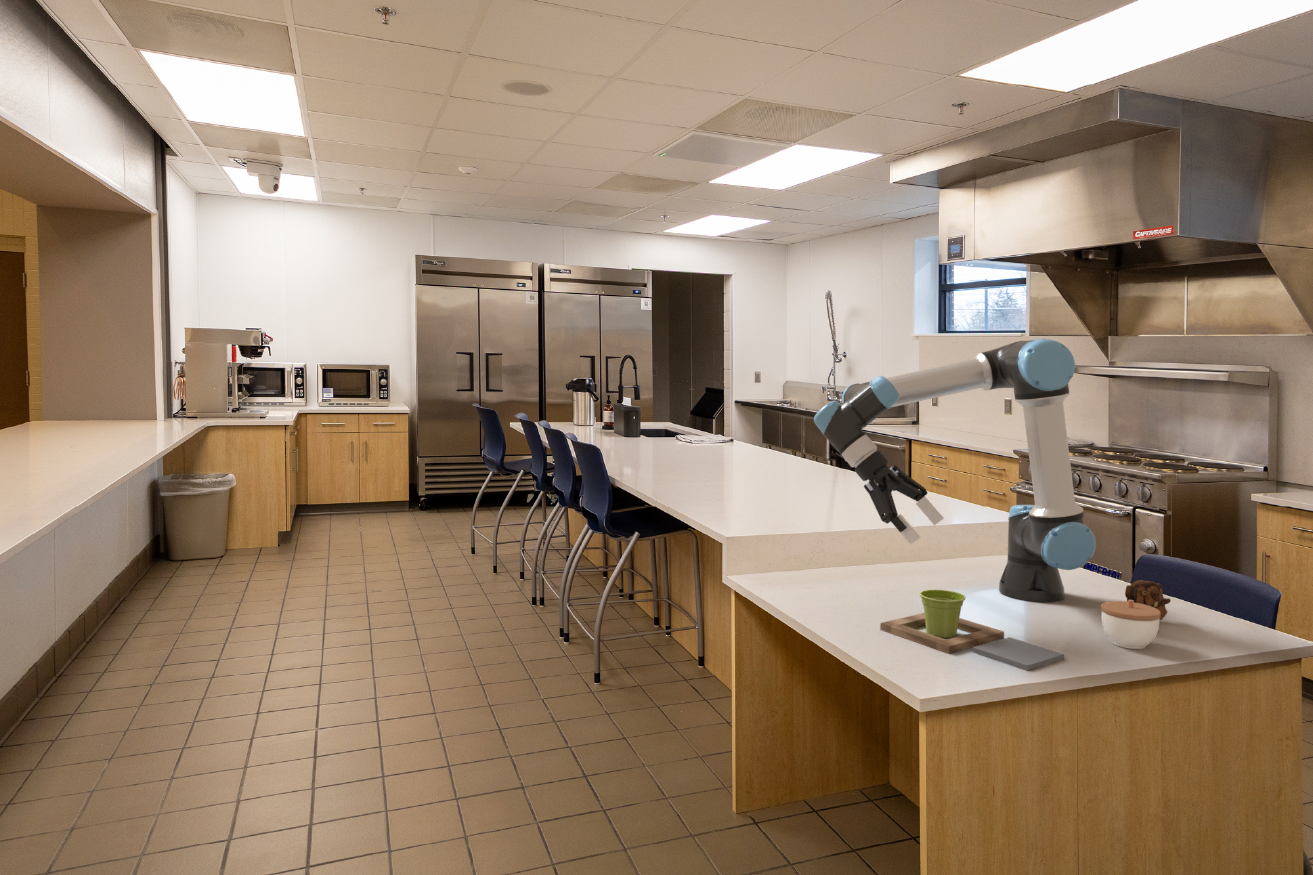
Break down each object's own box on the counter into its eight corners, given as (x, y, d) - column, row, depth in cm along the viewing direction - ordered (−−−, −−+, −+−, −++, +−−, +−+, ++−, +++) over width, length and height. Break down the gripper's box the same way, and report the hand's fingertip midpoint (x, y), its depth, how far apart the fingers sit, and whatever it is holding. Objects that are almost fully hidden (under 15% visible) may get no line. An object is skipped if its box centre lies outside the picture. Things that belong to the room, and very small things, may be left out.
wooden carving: (1135, 634, 176) (1137, 589, 175) (1114, 628, 180) (1116, 584, 179) (1174, 622, 185) (1176, 579, 184) (1152, 617, 189) (1155, 574, 188)
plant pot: (911, 627, 180) (912, 589, 180) (952, 626, 181) (953, 588, 180) (929, 641, 171) (930, 601, 170) (972, 640, 172) (973, 600, 171)
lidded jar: (1170, 653, 164) (1172, 607, 164) (1117, 652, 165) (1119, 607, 164) (1139, 636, 175) (1141, 593, 174) (1089, 635, 175) (1091, 593, 174)
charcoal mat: (1009, 641, 171) (1009, 637, 171) (1063, 658, 161) (1064, 653, 161) (972, 652, 165) (973, 647, 165) (1027, 670, 155) (1027, 665, 154)
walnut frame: (934, 616, 188) (934, 610, 188) (1004, 638, 173) (1004, 631, 173) (880, 629, 179) (880, 622, 179) (948, 653, 164) (948, 646, 164)
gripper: (878, 455, 201) (937, 522, 195) (830, 483, 183) (893, 558, 177) (899, 436, 196) (959, 505, 191) (851, 463, 178) (917, 540, 172)
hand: (927, 531), depth 184 cm, fingers open, 13 cm apart
